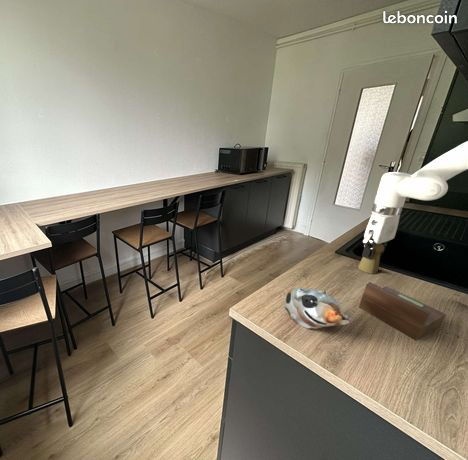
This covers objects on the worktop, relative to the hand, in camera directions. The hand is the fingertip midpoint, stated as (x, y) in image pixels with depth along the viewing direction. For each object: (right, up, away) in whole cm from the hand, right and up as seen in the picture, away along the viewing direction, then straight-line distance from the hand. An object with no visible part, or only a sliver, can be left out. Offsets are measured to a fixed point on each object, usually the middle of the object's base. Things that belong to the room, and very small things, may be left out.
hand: (372, 255), depth 93 cm
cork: (0, -6, +2) cm, 6 cm away
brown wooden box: (-9, -16, -20) cm, 27 cm away
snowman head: (-34, -17, -20) cm, 43 cm away
